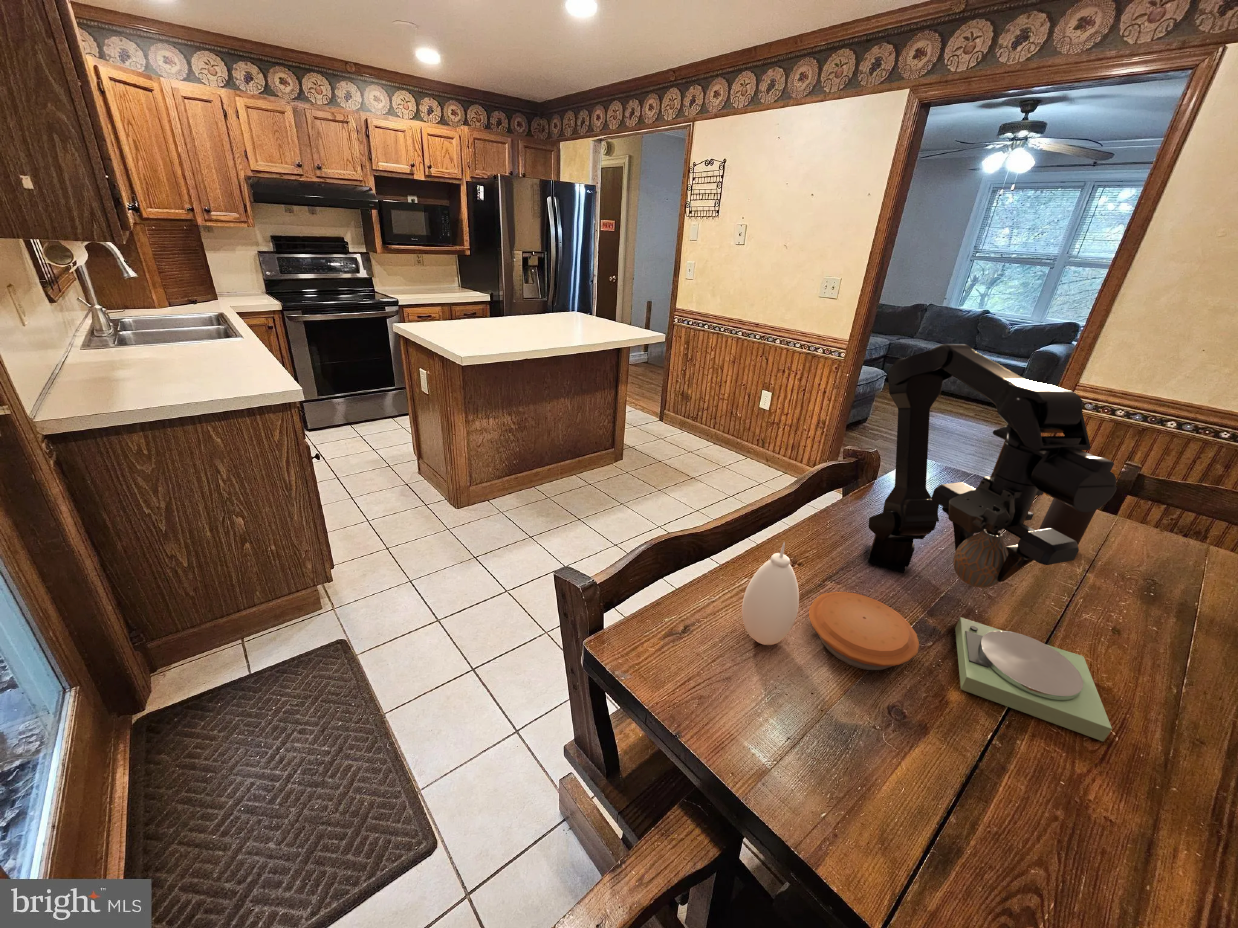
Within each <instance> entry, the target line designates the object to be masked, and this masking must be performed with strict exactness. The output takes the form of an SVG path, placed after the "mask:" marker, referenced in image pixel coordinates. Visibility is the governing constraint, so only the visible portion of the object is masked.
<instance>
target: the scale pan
mask: <svg viewBox="0 0 1238 928" xmlns="http://www.w3.org/2000/svg"><path fill="white" fill-rule="evenodd" d="M1048 645H1049V644H1046V643H1044V642H1042V641H1040V640H1038V639H1035V638H1033V637H1031V636H1028V635H1025V634H1022V633H1018V632H1015V631H1008V630H1002V631H992V632H989V633H987V634H985V635H984V636H983V637H982V639H981V641H980V644H979V649H980V653H981V655H982V657H983V658H984V660H985V661H986V662H987V664H988V665H989V666H990V667H991V668H992V669H993V670H994V671H995V672H996V673H998V674H999V675H1000V676H1001V677H1003V678H1004V679H1006V680H1007V681H1009V682H1010V683H1012V684H1013V685H1015V686H1017V687H1019V688H1021V689H1023V690H1025V691H1027V692H1030V693H1032V694H1035V695H1038V696H1041V697H1045V698H1049V699H1055V700H1068V699H1072V698H1075V697H1076V696H1078V695H1079V693H1080V692H1081V690H1082V688H1083V679H1082V677H1081V675H1080V673H1079V671H1078V670H1077V669H1076V667H1075V666H1074V665H1073V664H1072V663H1071V662H1070V661H1069V660H1068V659H1066V658H1065V657H1064V656H1063V655H1061V654H1060V653H1059V652H1057V651H1056V650H1054V649H1053V648H1051V647H1049V646H1050V645H1049V646H1048Z"/></svg>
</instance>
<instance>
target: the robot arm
mask: <svg viewBox="0 0 1238 928" xmlns="http://www.w3.org/2000/svg"><path fill="white" fill-rule="evenodd" d="M953 378H955V379H957V380H959V381H960V382H962V383H963V384H965V385H966V386H968V387H969V388H971V389H972V390H974V391H976V392H977V393H979V394H980V395H982V396H983V397H985V398H986V399H988V400H990V402H992V403H993V404H994V405H995V407H996V411H997V415H998V416H999V417H1000V418H1001V419H1002V420H1003V421H1004V422H1005V423H1006V424H1007V425H1005V426H1003V427H999V428H996V429H994V430H992V435H993V436H996V437H997V438H1000V439H1001V440H1003V444H1002V447H1001V449H1000V452H999V454H998V457H997V458H996V461H995V464H994V466H993V469H992V472H991V474H990V475H988V476H984V477H982V479H981V480H980V482H979V484H978V486H977V487H976V488H974V487H973V486H971V485H969V484H967V483H966V482H963V481H958V482H951V483H941V484H939V485H937V486H936V487H935V488H934V490H933V492H932V496H931V494H930V493H929V490H928V489H927V477H928V474H927V473H928V455H929V437H930V434H929V433H930V416H931V407H932V406H933V405H934V403H935V402H936V400H937V399H938V397H939V396H940V395H941V393H942V388H943V383H944V382H946V381H948V380H951V379H953ZM887 380H888V393H889V396H890V397H891V399H892V401H893V402H894V405H895V406H896V408H897V428H896V429H897V430H896V447H895V450H896V453H895V473H894V487H893V488H892V490H890V493H889V494H888V496H887V497H886V499H885V500H884V504H883V510H882V512H881V513H878V514H875V515H873V516H870V517H869V518H868V529H869V530H870V531H871V533H873V534H874V537H873V540H872V543H871V545H870V546H869V549H868V556H867V563H868V564H869V565H873V566H877V567H879V568H884V569H886V570H891V571H893V572H896V573H899V574H905V573H906V568H908V567H909V566H910V563H911V561H912V558H913V555H914V552H915V542H914V540H924V539H925V538H926V537H927V536H928V535H929V534H931V533H932V531H935V529H936V527H937V526H936V525H937V523H938V522H940V518H939V507H941V510H942V512H943V513H945V514H946V515H947V518H948V520H949V521H950V522H951V523H952V527H953V538H954V551H955V552H956V550H957V548H958V546H959V545H960V544H961V543H962V542H963V541H964V540H965V539H967V538H969V537H971V536H973V535H975V534H978V533H980V532H981V531H983V530H984V529H987V530H989V531H991V532H993V533H996V532H998V531H999V532H1001V531H1003V530H1004V531H1007V532H1008V533H1011V535H1014V536H1015V537H1017V538H1018V539H1019V540H1018V542H1017V544H1013V545H1007V546H1006V549H1007V551H1008V556H1007V558H1006V560H1005V562H1004V564H1003V566H1002V568H1001V570H1000V572H999V575H998V579H997V581H999V583H1003V582H1005V581H1007V580H1008V579H1009V578H1012V576H1014V575H1015V574H1016V573H1018V572H1019V571H1020V570H1022V569H1023V568H1024V567H1026V566H1027V565H1028V564H1030V563H1032V562H1033V561H1035V562H1036V563H1038V564H1040V565H1044V566H1050V565H1056V564H1062V563H1067V562H1072V561H1075V559H1076V558H1077V556H1078V553H1079V551H1080V548H1079V544H1077V542H1076V541H1075V540H1073V539H1071V538H1069V537H1067V536H1065V535H1063V534H1061V533H1059V532H1058V531H1056V530H1054V529H1052V528H1048V529H1042V530H1039V529H1034V528H1032V527H1031V526H1028V525H1026V524H1024V523H1025V522H1026V521H1027V522H1028V521H1031V520H1033V517H1034V514H1035V513H1033V512H1031V511H1030V510H1031V508H1032V506H1033V503H1034V501H1035V499H1036V497H1037V496H1043V495H1044V494H1046V495H1047V496H1049V497H1051V498H1052V499H1053V498H1055V499H1057V500H1059V501H1061V502H1062V503H1064V504H1066V505H1068V506H1070V507H1072V508H1074V509H1076V510H1077V511H1079V512H1083V513H1086V512H1091V511H1094V510H1096V511H1097V510H1099V509H1101V508H1102V507H1104V505H1106V504H1107V503H1109V502H1110V500H1111V499H1112V498H1113V496H1114V495H1115V493H1116V492H1117V489H1118V487H1117V477H1116V474H1115V473H1113V471H1112V469H1113V467H1114V465H1115V463H1114V461H1112V460H1110V459H1107V458H1106V457H1100V456H1096V455H1093V454H1091V453H1088V452H1086V451H1089V450H1091V448H1092V447H1091V442H1090V439H1089V434H1088V430H1087V426H1086V421H1085V418H1084V417H1085V416H1084V413H1083V410H1084V409H1083V401H1084V400H1083V399H1082V397H1081V396H1080V395H1078V394H1077V393H1076V392H1074V391H1072V390H1068V389H1065V388H1063V387H1060V386H1059V387H1058V386H1056V385H1053V384H1047V383H1043V382H1037V381H1033V380H1029V379H1026V378H1024V377H1022V376H1020V375H1018V374H1017V373H1015V372H1013V371H1011V370H1010V369H1007V368H1006V367H1005V366H1003V365H1000V364H999V363H997V362H995V361H993V360H991V359H990V358H988V357H986V356H984V355H982V354H981V353H979V352H977V351H975V349H974V348H973V347H971V346H969V344H965V343H941V344H940V345H937V346H935V347H933V348H931V349H930V350H926V351H923V352H919V353H916V354H912V355H911V356H907V357H906V358H905V357H904V358H903V357H902V358H899V359H897V360H896V361H895V362H894V363H893V364H892V366H890V367H889V369H888V373H887ZM1042 434H1063V435H1042ZM955 552H954V553H955Z"/></svg>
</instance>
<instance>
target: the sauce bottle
mask: <svg viewBox="0 0 1238 928" xmlns="http://www.w3.org/2000/svg"><path fill="white" fill-rule="evenodd" d="M785 547H786V542H785V541H783V543H782V545H781V548H780V552H776V553H773V554H772V555H771V556H770V559H768V560H766V562H764V563H763V564H762V565H761V566H760V567H759V568H758V569H757V570H756V572H755V573H754V574H753V576H752V578H751V579H750V581H749V583H748V585H747V586H746V588H745V591H744V595H743V598H742V603H741V619H742V623H743V624H742V625H743V627H744V629H745V630H746V633H747V635H749V637H750V638H751V639H753V640H754V641H755V642H757V643H758V644H762V645H763V646H772V645H776V644H778V643H779V642H782V640H784V639H785V638H786V637H787V635H788V634H789V633H790V632H791V630H792V629H793V627H794V625H795V623H796V620H797V616H798V614H799V606H800V590H799V583H798V580H797V575H796V573H795V570H794V569H793V567H792V565H791V559H790V558H789V556H787V555H786V554H785Z"/></svg>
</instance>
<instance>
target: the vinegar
mask: <svg viewBox="0 0 1238 928" xmlns="http://www.w3.org/2000/svg"><path fill="white" fill-rule="evenodd" d="M1096 511H1097V510H1094V511H1091V512H1086V513H1083V512H1079V511H1077V510H1076V509H1074V508H1072V507H1070V506H1068V505H1066V504H1064V503H1062V502H1061V501H1059V500H1057V499H1055V498H1053V497H1052V501H1051V503H1050V505H1049V506H1048V508H1047V511H1046V513H1045V515H1044V518H1043V519H1042V522H1041V524H1040V526H1039V528H1038V530H1042V529H1048V528H1052V529H1054V530H1056V531H1058V532H1059V533H1061V534H1063V535H1065V536H1067V537H1069V538H1071V539H1073V540H1075V541H1076V542H1077V544H1078V545H1080V542H1081V540H1082V538H1083V537H1084V534H1085V533H1086V531H1087V529H1088V527H1089V525H1090V523H1091V521H1092V520H1093V517H1094V516H1095V514H1096Z"/></svg>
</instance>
